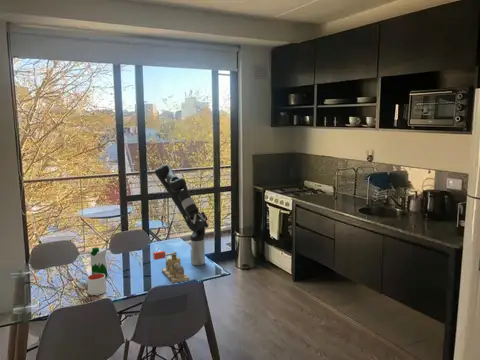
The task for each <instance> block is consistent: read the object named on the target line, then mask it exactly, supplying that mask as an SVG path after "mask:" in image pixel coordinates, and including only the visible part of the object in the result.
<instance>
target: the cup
mask: <svg viewBox="0 0 480 360" xmlns="http://www.w3.org/2000/svg"><path fill="white" fill-rule="evenodd" d="M86 279H87V280H86V282H87V290H88V291H87V292H88V294H89V295H90V296H93V295H96V296H101V295H103V294H105V293H106V291H107V281H106V280H107V279H106V277H105V275H104V274H100V273H99V274H93V275H92V274H90V275H88V276H87V277H86ZM100 294H101V295H100Z"/></svg>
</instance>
